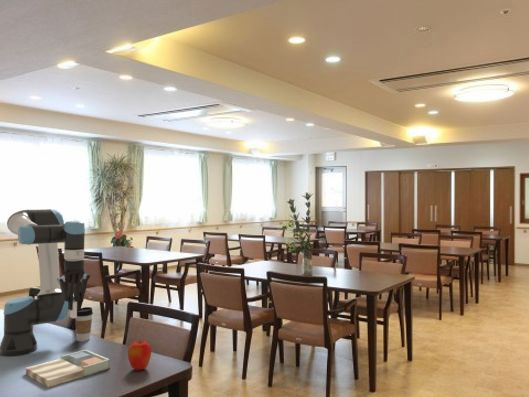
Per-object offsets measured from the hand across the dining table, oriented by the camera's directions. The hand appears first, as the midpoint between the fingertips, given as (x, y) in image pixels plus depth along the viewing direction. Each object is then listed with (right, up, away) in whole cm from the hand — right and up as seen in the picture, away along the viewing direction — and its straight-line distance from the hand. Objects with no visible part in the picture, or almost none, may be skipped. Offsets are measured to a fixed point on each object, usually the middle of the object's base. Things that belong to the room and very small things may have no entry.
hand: (73, 317), depth 186 cm
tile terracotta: (+8, -20, -1) cm, 22 cm away
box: (+4, -21, +2) cm, 21 cm away
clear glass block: (0, -20, +5) cm, 21 cm away
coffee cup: (-11, -21, +38) cm, 44 cm away
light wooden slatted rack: (-4, -21, -7) cm, 22 cm away
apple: (+27, -21, -1) cm, 34 cm away
